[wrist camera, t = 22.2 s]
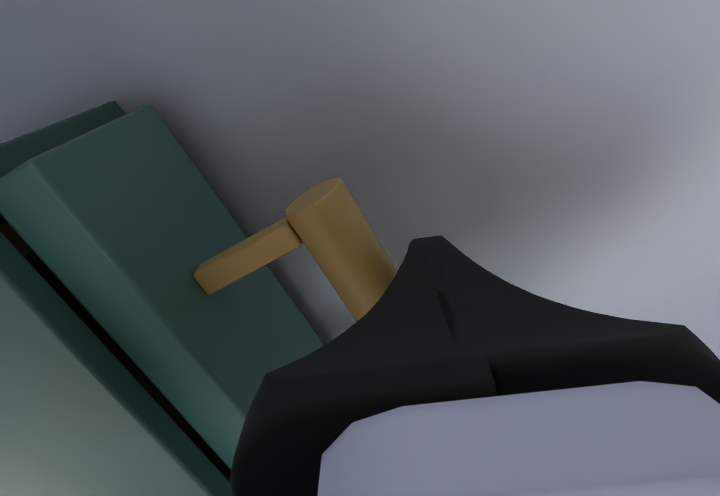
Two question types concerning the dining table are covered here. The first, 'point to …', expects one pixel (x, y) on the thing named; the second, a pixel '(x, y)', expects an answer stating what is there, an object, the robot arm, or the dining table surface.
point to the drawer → (182, 268)
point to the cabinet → (78, 384)
